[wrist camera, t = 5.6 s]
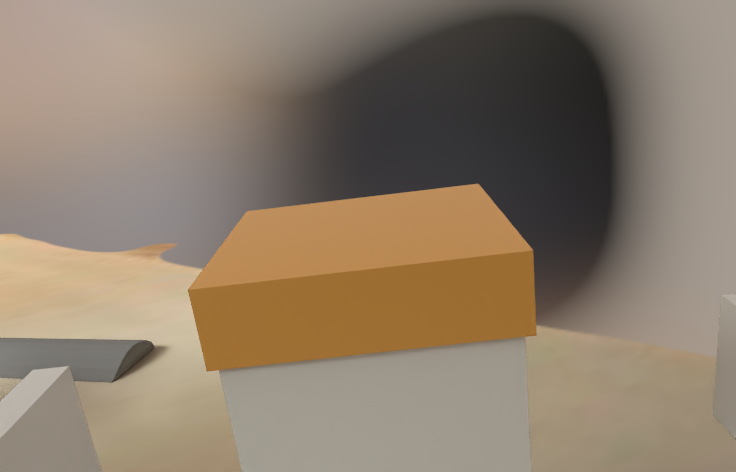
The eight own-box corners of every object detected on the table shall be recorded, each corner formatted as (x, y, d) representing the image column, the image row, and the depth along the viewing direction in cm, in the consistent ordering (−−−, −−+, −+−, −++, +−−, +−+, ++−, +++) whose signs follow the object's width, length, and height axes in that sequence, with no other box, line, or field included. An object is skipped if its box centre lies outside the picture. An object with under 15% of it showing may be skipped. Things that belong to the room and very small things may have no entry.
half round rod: (118, 392, 32) (110, 364, 32) (-137, 380, 38) (-148, 356, 37) (162, 354, 36) (155, 327, 36) (-75, 348, 42) (-84, 325, 41)
